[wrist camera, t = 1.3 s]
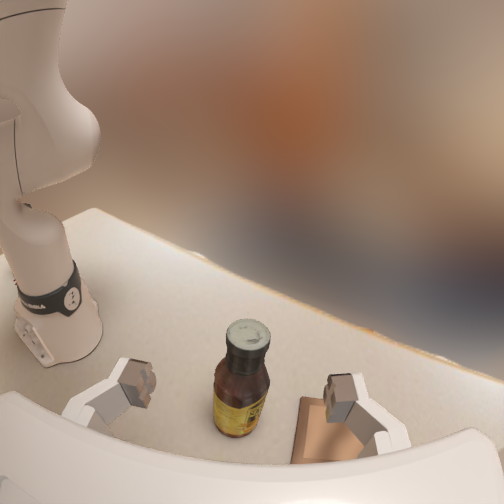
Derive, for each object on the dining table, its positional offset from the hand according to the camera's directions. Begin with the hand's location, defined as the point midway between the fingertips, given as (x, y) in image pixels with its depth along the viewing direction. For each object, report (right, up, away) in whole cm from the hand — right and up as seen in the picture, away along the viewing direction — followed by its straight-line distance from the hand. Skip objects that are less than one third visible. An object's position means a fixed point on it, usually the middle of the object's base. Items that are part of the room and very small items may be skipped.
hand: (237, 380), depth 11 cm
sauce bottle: (-2, -19, +23) cm, 29 cm away
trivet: (+13, -21, +21) cm, 32 cm away
